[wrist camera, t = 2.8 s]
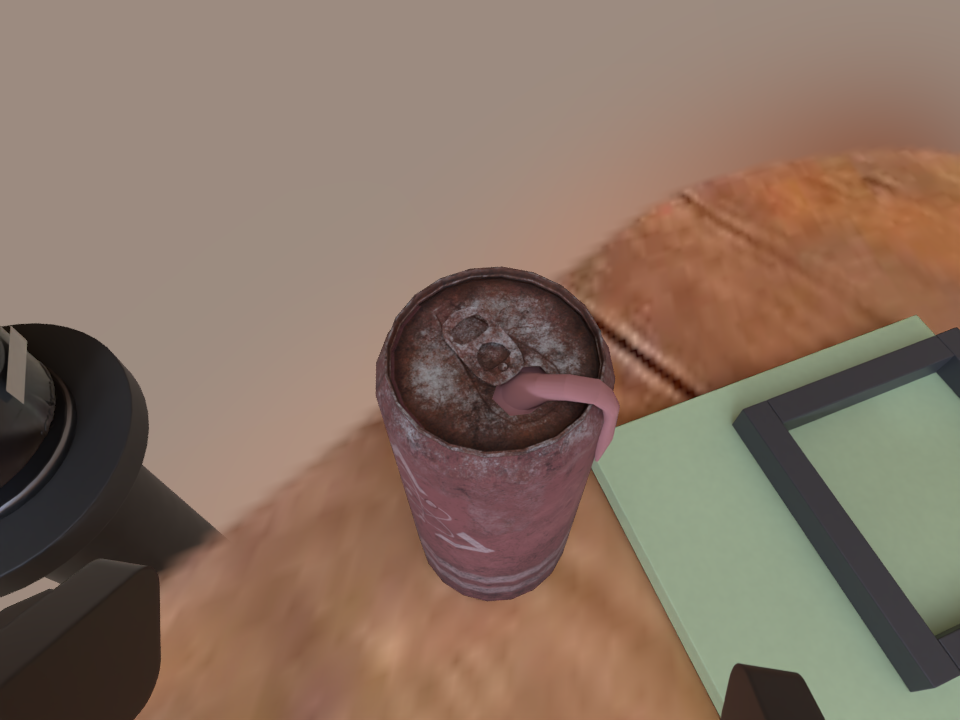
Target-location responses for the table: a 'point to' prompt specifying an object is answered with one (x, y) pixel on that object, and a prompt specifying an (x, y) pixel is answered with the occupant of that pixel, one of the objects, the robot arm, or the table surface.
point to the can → (495, 422)
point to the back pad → (811, 522)
